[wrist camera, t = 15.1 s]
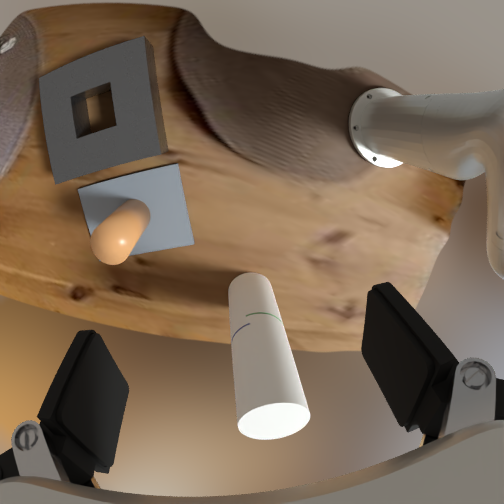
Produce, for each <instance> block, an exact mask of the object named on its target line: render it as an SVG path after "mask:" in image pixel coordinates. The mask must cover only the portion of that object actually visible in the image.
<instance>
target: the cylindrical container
mask: <svg viewBox="0 0 504 504" xmlns="http://www.w3.org/2000/svg"><path fill="white" fill-rule="evenodd" d="M228 298H229V315H230V331H231V345H232V360H233V373H234V386H235V399H236V411H237V422H238V428H239V431H240V432H241V433H242V434H244V435H246V436H248V437H251V438H254V439H263V440H264V439H265V440H268V439H277V438H282V437H285V436H288V435H291V434H293V433H295V432H297V431H299V430H300V429H302V428H303V427H304V426H305V425H306V424H307V423H308V421H309V419H310V412H309V409H308V406H307V402H306V399H305V396H304V392H303V389H302V386H301V382H300V379H299V375H298V372H297V369H296V365H295V362H294V359H293V355H292V352H291V349H290V345H289V342H288V339H287V335H286V332H285V329H284V325H283V322H282V319H281V316H280V312H279V309H278V306H277V303H276V299H275V296H274V293H273V290H272V286H271V284H270V282H269V280H268V279H267V278H266V277H265V276H263V275H261V274H259V273H254V272H249V273H244V274H241V275H239V276H237V277H236V278H235V279H234V280H233V281H232V282H231V284H230V286H229V289H228Z"/></svg>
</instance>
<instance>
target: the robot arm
mask: <svg viewBox="0 0 504 504" xmlns="http://www.w3.org/2000/svg"><path fill="white" fill-rule="evenodd" d="M367 96H368V98H367ZM354 127H355V129H354ZM349 132H350V137H351V140H352V142H353V145H354V147H355V148H356V150H357V152H358V153H359V154H360V155H361V156H362V157H363V158H364V159H365V160H367V161H368V162H370V163H372V164H373V165H376V166H379V167H385V168H391V167H396V166H399V165H401V164H402V163H405V164H409V165H412V166H415V167H419V168H422V169H425V170H428V171H431V172H434V173H437V174H440V175H443V176H446V177H449V178H452V179H457V180H467V179H472V178H474V177H476V176H478V175H480V174H482V173H483V172H485V175H486V188H487V254H488V259H489V262H490V265H491V267H492V268H493V270H494V271H495V272H496V273H497V275H498V276H500V277H501V278H502V279H504V89H502V90H495V91H488V92H480V93H460V94H427V95H426V94H425V95H407V96H402V95H401V94H399V93H398V92H396V91H394V90H391V89H387V88H375V89H370V90H368V91H366V92H364V93H363V94H361V95H360V96H359V97H358V98H357V99H356V101H355V102H354V104H353V106H352V108H351V111H350V114H349ZM372 157H373V159H372ZM361 349H362V355H363V357H364V359H365V361H366V363H367V365H368V367H369V368H370V370H371V372H372V374H373V376H374V378H375V380H376V381H377V383H378V385H379V387H380V389H381V391H382V393H383V395H384V396H385V398H386V400H387V402H388V404H389V406H390V408H391V410H392V412H393V414H394V416H395V418H396V419H397V422H398V423H399V425H400V426H401V427H403V426H405V428H406V430H407V432H410V431H413V430H415V429H417V428H420V430H421V432H422V434H423V436H422V439H421V443H420V446H419V448H417V449H415V450H412V451H410V452H408V453H405V454H403V455H400V456H398V457H395V458H393V459H390V460H387V461H385V462H382V463H379V464H376V465H374V466H371V467H368V468H365V469H362V470H359V471H356V472H352V473H349V474H346V475H342V476H339V477H336V478H331V479H328V480H324V481H319V482H315V483H311V484H306V485H302V486H297V487H292V488H286V489H280V490H274V491H268V492H260V493H251V494H241V495H231V496H212V497H211V496H210V497H172V496H153V495H141V494H132V493H123V492H116V491H109V490H103V489H101V488H100V486H99V484H98V483H97V481H96V479H95V478H94V476H93V475H94V470H95V471H96V472H101V473H107V474H108V473H109V469H110V467H111V466H112V465H113V463H114V458H115V453H116V448H117V443H118V438H119V433H120V428H121V424H122V419H123V415H124V411H125V406H126V402H127V398H128V393H129V386H128V383H127V382H126V380H125V378H124V377H123V375H122V373H121V372H120V370H119V368H118V367H117V365H116V363H115V361H114V360H113V358H112V356H111V354H110V352H109V351H108V349H107V347H106V345H105V343H104V341H103V339H102V337H101V336H100V335H99V334H97V333H96V332H95V331H94V330H85V331H79V332H78V333H77V334H76V337H75V338H74V340H73V342H72V344H71V346H70V348H69V349H68V351H67V353H66V355H65V357H64V359H63V361H62V363H61V365H60V367H59V369H58V371H57V374H56V375H55V378H54V380H53V382H52V384H51V386H50V388H49V390H48V393H47V395H46V397H45V399H44V401H43V404H42V406H41V408H40V411H39V413H38V415H37V417H38V418H39V420H41V422H40V424H38V423H37V422H35V421H32V420H31V421H25V422H22V423H21V424H20V425H18V426H17V428H16V429H15V430H14V432H13V435H12V439H11V440H12V448H11V449H9V450H7V451H6V452H4V453H3V454H1V455H0V504H504V380H502V379H498V378H496V375H495V371H494V370H493V368H492V366H491V365H490V364H489V363H487V362H486V361H484V360H482V359H479V358H467V359H465V360H463V361H461V362H460V363H459V362H458V361H457V359H456V358H455V357H454V355H453V354H452V353H451V352H450V350H449V349H448V348H447V347H446V345H445V344H444V343H443V342H442V341H441V339H440V338H439V337H438V336H437V335H436V333H435V332H434V331H433V330H432V329H431V328H430V326H429V325H428V324H427V323H426V322H425V321H424V320H423V318H422V317H421V316H420V315H419V314H418V313H417V312H416V310H415V309H414V308H413V307H412V306H411V305H410V304H409V303H408V302H407V300H406V299H405V298H404V297H403V296H402V295H401V294H400V293H399V292H398V291H397V290H396V288H395V287H394V286H393V285H392V284H391V283H389V282H386V283H381V284H377V285H374V286H373V287H372V290H370V291H369V292H368V295H367V306H366V315H365V324H364V333H363V340H362V348H361Z"/></svg>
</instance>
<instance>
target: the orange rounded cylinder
mask: <svg viewBox="0 0 504 504" xmlns="http://www.w3.org/2000/svg"><path fill="white" fill-rule="evenodd" d="M150 217H151V216H150V211H149V208H148V207H147V205H146V204H145V203H144V202H142V201H140V200H137V199H130V200H127V201H126V202H124V203H123V204H122V205H121V206H120V207H118V208H117V209H116V210H115V211H114V212H113V213H112V214H111V215H109V216H108V217H107V218H106V219H105V220H104V221H103V222H102V223H101V224H100V225H98V226H97V227H96V228H95V229H94V231H93V233H92V235H91V240H90V242H91V248H92V251H93V253H94V254H95V256H96V257H97V258H98V259H99V260H100V261H102V262H104V263H106V264H109V265H117V264H120V263H122V262H124V261H125V260H126V259H127V257H128V256H129V254H130V252H131V251H132V249H133V248H134V246H135V245H136V243H137V241H138V240H139V238H140V237H141V235H142V234H143V232H144V231H145V229H146V228H147V226H148V224H149V222H150Z"/></svg>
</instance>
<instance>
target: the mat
mask: <svg viewBox="0 0 504 504" xmlns="http://www.w3.org/2000/svg"><path fill="white" fill-rule="evenodd" d="M78 192H79V196H80V200H81V204H82V207H83V211H84V214H85V218H86V221H87V225H88V228H89V231H90V234H91V235H92V233H93V231H94V229H95V228H96V227H97V226H98V225H100V224H101V223H102V222H103V221H104V220H105V219H106V218H107V217H108V216H109V215H111V214H112V213H113V212H114V211H115V210H116V209H117V208H118V207H120V206H121V205H122V204H123V203H124V202H126V201H127V200H130V199H137V200H140V201H142V202H144V203H145V204H146V205H147V207H148V208H149V211H150V216H151V217H150V222H149V224H148V226H147V228H146V229H145V231H144V232H143V234H142V235H141V237H140V238H139V240H138V241H137V243H136V245H135V246H134V248H133V249H132V251H131V252H130V254H129V256H131V255H136V254H142V253H147V252H153V251H158V250H164V249H170V248H175V247H181V246H187V245H192V244H194V238H193V234H192V229H191V225H190V220H189V216H188V211H187V206H186V201H185V196H184V192H183V187H182V182H181V176H180V171H179V166H178V163H177V164H173V165H168V166H163V167H159V168H154V169H150V170H146V171H142V172H137V173H133V174H129V175H126V176H122V177H118V178H114V179H110V180H107V181H103V182H100V183H96V184H93V185H89V186H86V187H83V188H79V189H78ZM99 261H100V260H99Z"/></svg>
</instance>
